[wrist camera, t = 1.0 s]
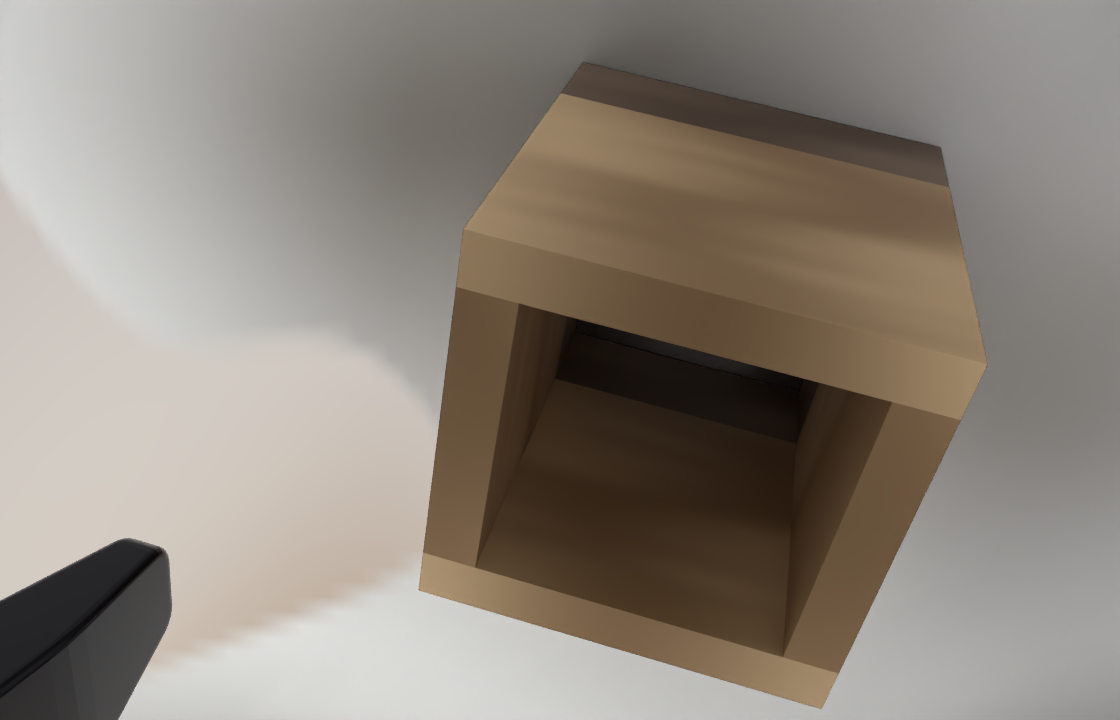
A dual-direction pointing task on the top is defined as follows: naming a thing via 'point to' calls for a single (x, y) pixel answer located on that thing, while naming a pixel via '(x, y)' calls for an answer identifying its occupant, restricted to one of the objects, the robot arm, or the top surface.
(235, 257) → the top surface
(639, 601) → the oak sleeve
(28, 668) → the robot arm
